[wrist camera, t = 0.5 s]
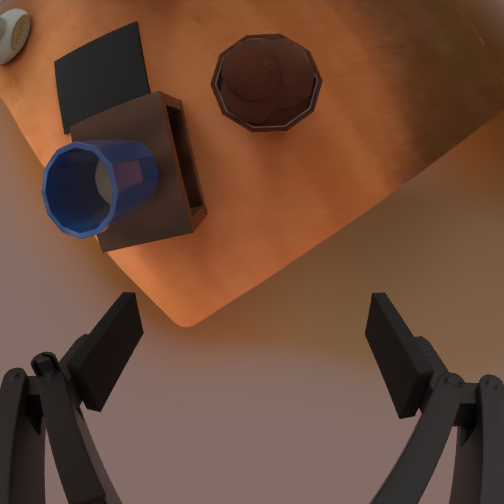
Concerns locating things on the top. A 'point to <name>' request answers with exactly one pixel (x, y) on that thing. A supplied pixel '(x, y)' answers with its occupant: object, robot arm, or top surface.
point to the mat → (101, 75)
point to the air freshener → (13, 33)
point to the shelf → (168, 162)
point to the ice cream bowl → (266, 82)
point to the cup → (98, 184)
